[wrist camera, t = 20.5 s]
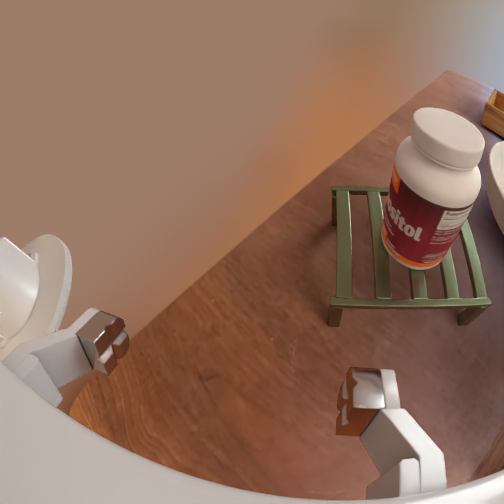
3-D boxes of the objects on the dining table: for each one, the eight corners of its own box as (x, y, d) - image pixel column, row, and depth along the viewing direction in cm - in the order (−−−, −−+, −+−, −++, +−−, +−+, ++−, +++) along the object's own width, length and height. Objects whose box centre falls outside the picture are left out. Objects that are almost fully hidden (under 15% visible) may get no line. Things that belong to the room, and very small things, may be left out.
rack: (327, 326, 23) (330, 304, 19) (331, 219, 29) (331, 185, 25) (466, 325, 19) (492, 304, 15) (447, 224, 25) (460, 193, 21)
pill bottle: (367, 221, 22) (380, 103, 13) (424, 206, 21) (450, 99, 13) (398, 283, 18) (445, 166, 9) (457, 260, 18) (512, 155, 9)
